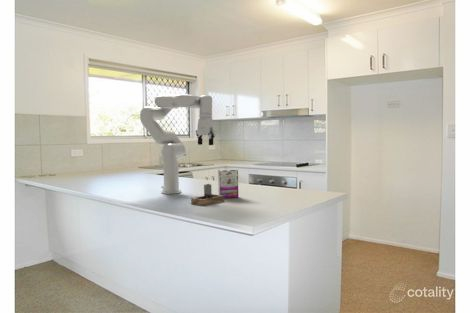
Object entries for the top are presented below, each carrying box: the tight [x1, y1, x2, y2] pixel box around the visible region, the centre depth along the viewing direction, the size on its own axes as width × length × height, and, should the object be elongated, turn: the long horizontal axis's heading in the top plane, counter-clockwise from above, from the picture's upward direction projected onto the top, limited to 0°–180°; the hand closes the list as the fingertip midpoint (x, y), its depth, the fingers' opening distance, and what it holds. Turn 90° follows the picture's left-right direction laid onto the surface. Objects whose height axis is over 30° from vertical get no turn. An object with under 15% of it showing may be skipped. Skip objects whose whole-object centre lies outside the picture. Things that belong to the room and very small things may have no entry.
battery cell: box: [203, 183, 213, 199], centre depth 187 cm, size 4×4×10 cm
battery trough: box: [190, 193, 225, 207], centre depth 187 cm, size 9×16×3 cm, turn 140°
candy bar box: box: [217, 168, 239, 199], centre depth 201 cm, size 11×5×16 cm, turn 105°
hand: (205, 144), depth 207 cm, fingers open, 9 cm apart
